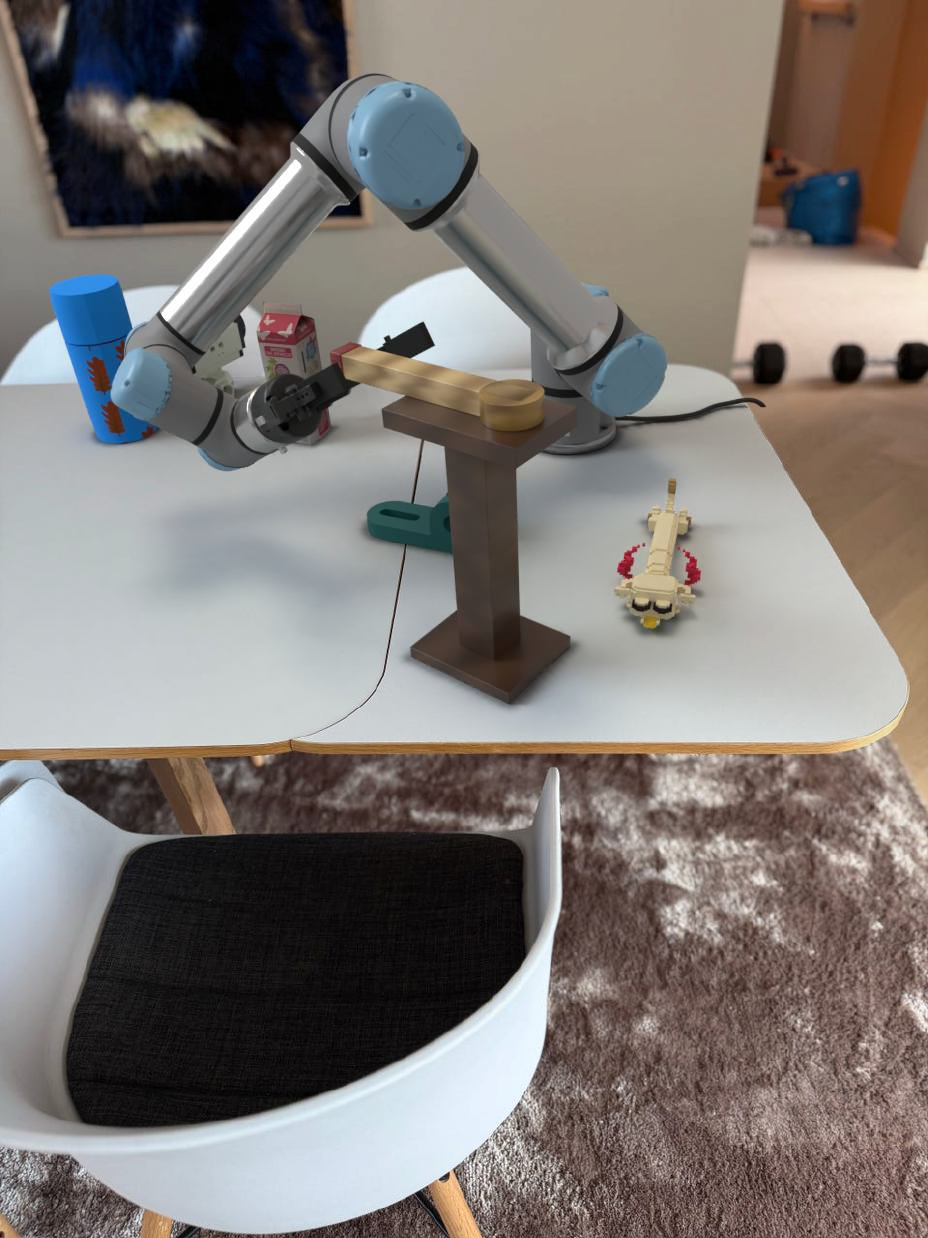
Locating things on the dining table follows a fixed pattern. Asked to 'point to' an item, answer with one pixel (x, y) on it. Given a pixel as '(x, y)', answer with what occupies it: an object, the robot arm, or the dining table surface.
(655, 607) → the cream toy animal figure
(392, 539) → the bracket
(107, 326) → the thermos
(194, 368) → the ball valve
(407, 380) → the pointer
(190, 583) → the dining table surface
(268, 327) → the juice carton
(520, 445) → the stand
